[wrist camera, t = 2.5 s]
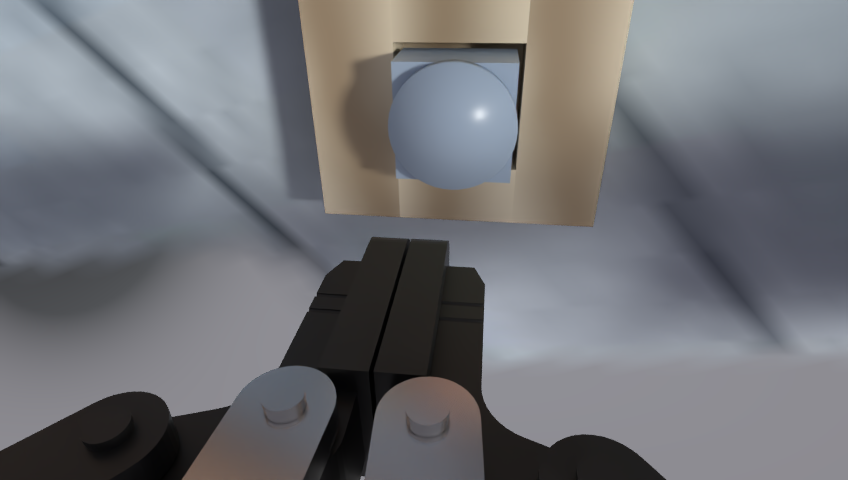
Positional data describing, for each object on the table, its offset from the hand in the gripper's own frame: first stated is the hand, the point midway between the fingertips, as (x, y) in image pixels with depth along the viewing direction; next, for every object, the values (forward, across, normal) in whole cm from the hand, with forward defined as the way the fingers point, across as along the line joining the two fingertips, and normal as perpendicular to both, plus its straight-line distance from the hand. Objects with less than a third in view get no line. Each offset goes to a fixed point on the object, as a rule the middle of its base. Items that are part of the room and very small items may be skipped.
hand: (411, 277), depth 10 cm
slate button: (+12, 0, 0) cm, 12 cm away
